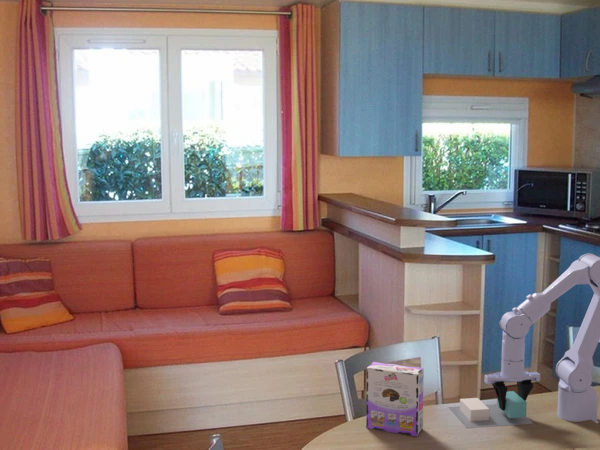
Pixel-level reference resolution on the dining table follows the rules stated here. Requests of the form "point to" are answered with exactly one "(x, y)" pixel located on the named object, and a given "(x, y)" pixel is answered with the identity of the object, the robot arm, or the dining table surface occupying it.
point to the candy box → (394, 398)
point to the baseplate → (492, 418)
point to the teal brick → (514, 405)
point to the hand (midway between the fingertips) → (511, 408)
